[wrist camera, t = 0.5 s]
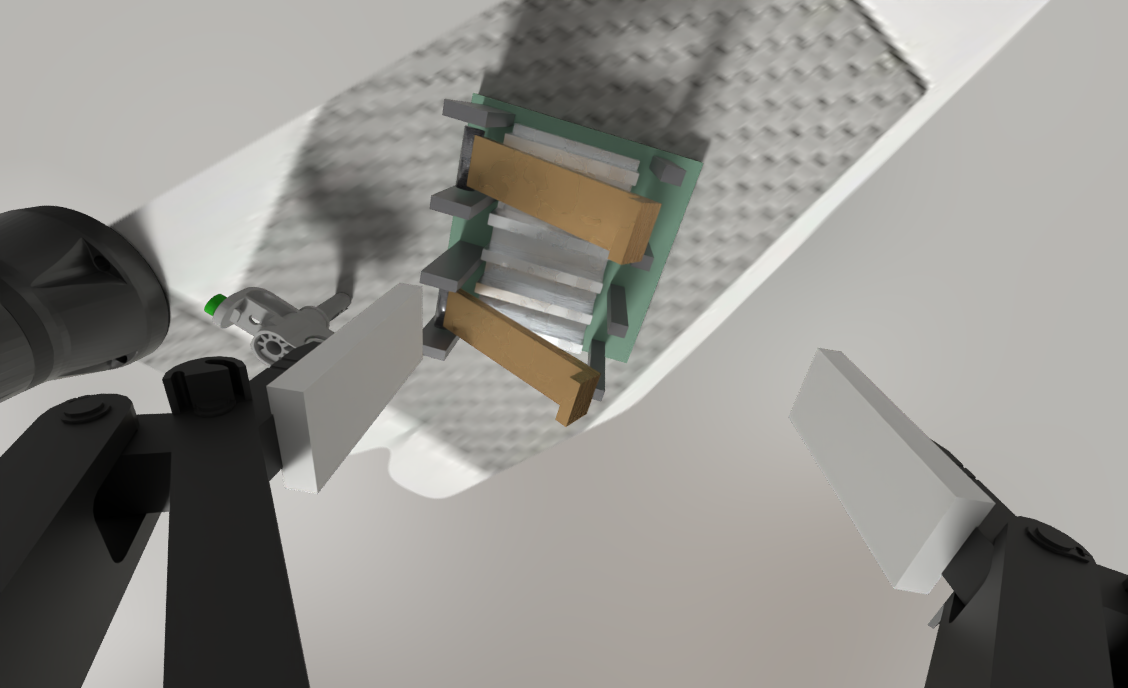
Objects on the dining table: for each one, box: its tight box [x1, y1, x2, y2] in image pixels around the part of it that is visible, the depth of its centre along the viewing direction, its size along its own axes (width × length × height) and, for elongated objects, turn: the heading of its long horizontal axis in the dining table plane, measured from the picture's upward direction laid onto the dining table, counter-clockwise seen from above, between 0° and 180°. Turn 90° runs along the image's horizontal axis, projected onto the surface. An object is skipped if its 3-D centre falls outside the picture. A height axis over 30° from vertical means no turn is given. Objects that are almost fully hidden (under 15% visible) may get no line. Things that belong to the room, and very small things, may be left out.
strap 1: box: [456, 126, 662, 265], centre depth 25 cm, size 14×4×2 cm
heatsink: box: [474, 123, 640, 354], centre depth 34 cm, size 9×15×4 cm, turn 165°
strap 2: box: [434, 288, 601, 427], centre depth 30 cm, size 14×4×2 cm
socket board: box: [448, 93, 703, 363], centre depth 37 cm, size 17×17×2 cm
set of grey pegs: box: [420, 99, 686, 401], centre depth 32 cm, size 14×16×8 cm
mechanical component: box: [204, 287, 351, 367], centre depth 37 cm, size 3×10×10 cm, turn 53°
